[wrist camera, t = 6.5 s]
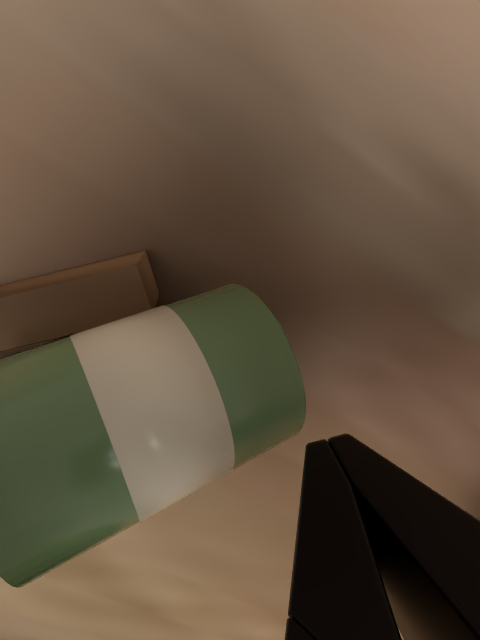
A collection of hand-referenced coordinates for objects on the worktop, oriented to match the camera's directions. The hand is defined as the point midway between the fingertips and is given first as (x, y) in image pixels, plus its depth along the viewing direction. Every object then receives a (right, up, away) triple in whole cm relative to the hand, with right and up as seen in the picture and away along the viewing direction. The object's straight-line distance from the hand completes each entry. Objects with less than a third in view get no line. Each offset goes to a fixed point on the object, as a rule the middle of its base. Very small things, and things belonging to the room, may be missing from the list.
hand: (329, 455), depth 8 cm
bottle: (-1, +1, +4) cm, 4 cm away
